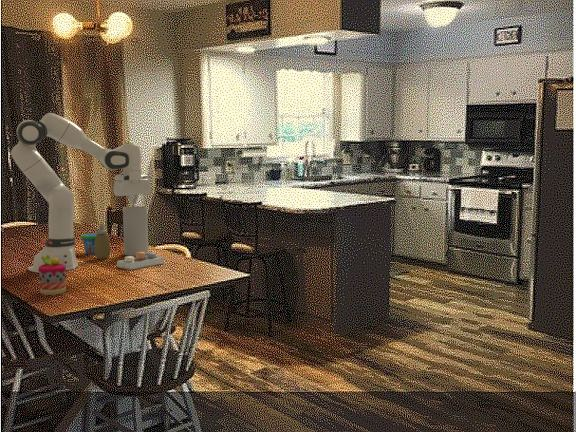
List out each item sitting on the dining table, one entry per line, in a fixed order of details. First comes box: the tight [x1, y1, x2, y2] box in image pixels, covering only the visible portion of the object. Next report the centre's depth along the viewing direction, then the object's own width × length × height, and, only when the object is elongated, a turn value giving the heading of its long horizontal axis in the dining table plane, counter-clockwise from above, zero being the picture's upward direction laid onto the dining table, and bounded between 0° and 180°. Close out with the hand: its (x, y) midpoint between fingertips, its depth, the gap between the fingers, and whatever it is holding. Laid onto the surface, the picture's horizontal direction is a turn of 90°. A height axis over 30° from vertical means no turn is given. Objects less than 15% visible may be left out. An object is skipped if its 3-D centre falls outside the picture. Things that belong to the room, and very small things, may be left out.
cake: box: [38, 255, 68, 296], centre depth 254 cm, size 10×11×15 cm
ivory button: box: [124, 255, 135, 263], centre depth 303 cm, size 4×4×3 cm
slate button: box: [146, 252, 157, 259], centre depth 313 cm, size 4×4×3 cm
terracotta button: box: [135, 252, 146, 260], centre depth 308 cm, size 4×4×3 cm
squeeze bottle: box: [94, 223, 111, 260], centre depth 324 cm, size 8×8×18 cm
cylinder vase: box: [122, 205, 149, 257], centre depth 335 cm, size 12×12×25 cm
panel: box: [116, 255, 165, 271], centre depth 308 cm, size 20×10×3 cm, turn 140°
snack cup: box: [80, 232, 97, 255], centre depth 337 cm, size 16×10×10 cm
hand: (133, 204), depth 313 cm, fingers closed
